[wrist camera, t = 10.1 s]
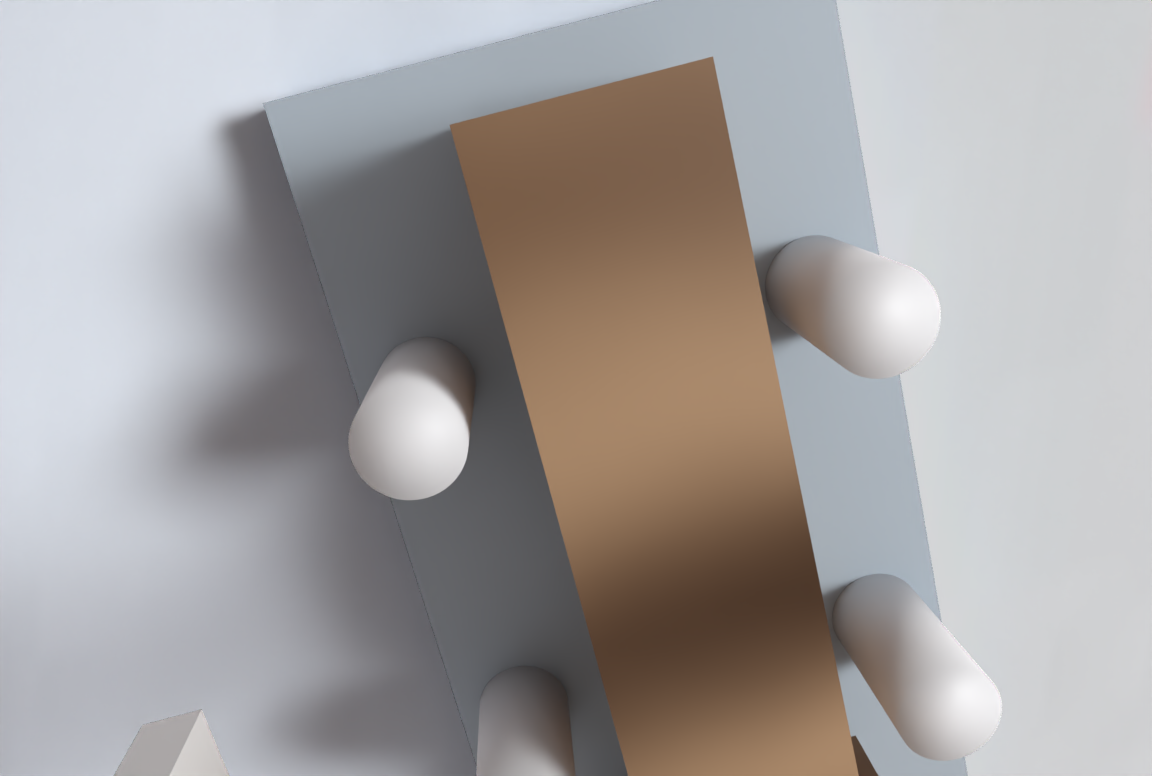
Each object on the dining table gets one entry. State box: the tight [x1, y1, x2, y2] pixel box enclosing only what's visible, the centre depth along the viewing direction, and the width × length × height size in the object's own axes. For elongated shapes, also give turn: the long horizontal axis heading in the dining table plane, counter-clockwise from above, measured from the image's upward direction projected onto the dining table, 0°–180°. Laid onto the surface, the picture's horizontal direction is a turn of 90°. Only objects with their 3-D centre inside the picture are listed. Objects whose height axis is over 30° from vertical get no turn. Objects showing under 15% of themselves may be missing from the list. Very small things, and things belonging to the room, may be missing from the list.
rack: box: [263, 0, 1002, 776], centre depth 19 cm, size 18×10×5 cm, turn 14°
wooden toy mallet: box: [450, 57, 878, 776], centre depth 18 cm, size 18×6×4 cm, turn 14°
